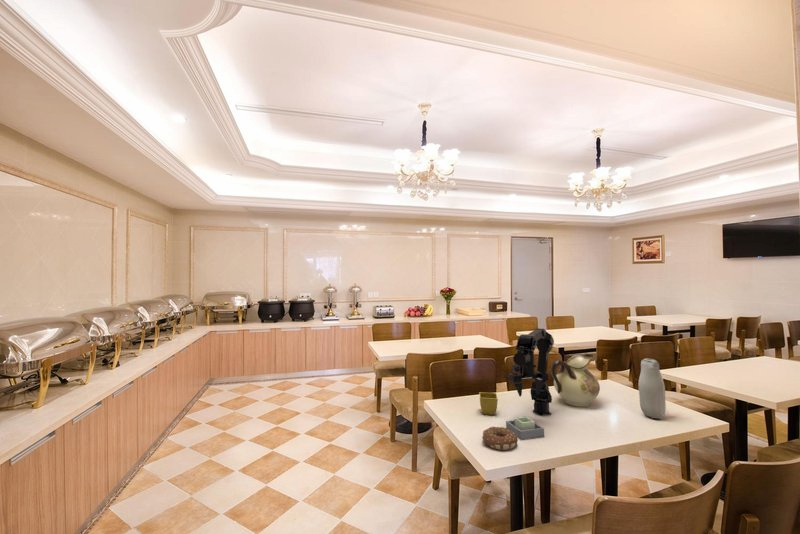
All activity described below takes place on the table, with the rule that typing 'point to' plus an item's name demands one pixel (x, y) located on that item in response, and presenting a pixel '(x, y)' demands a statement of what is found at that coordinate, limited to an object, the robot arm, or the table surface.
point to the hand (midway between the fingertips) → (528, 395)
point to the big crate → (525, 431)
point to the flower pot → (488, 402)
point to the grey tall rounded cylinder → (651, 389)
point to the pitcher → (575, 381)
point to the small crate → (524, 423)
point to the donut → (499, 438)
